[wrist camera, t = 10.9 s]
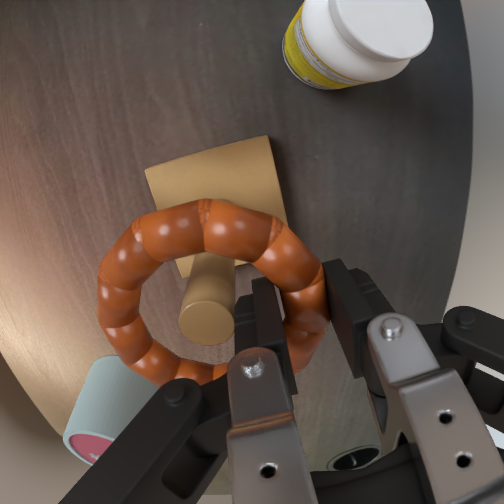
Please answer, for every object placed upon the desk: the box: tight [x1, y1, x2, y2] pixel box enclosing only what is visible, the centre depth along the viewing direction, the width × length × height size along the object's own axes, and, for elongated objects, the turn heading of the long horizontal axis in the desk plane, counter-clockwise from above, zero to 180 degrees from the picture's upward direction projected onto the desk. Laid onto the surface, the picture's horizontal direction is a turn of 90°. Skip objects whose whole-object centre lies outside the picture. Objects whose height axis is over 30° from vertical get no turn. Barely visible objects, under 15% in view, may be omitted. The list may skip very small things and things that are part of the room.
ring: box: [97, 198, 330, 388], centre depth 11 cm, size 8×8×2 cm
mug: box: [63, 356, 159, 466], centre depth 27 cm, size 14×9×10 cm
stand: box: [145, 135, 289, 346], centre depth 17 cm, size 9×9×14 cm
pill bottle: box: [282, 0, 433, 90], centre depth 14 cm, size 6×6×11 cm
